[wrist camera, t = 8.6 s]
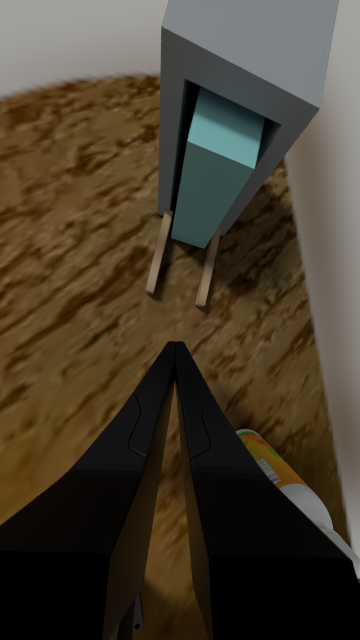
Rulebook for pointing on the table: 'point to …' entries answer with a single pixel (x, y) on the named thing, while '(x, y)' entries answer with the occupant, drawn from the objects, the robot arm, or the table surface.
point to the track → (206, 269)
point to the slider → (214, 165)
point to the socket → (242, 76)
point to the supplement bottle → (294, 489)
